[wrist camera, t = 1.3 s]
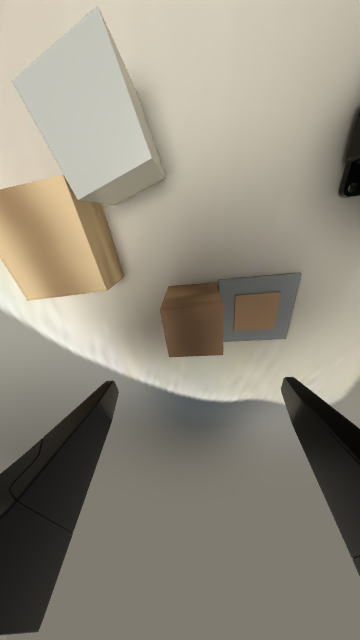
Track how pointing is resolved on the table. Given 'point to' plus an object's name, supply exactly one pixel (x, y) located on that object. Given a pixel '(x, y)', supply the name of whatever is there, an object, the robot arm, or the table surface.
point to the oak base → (55, 241)
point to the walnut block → (193, 320)
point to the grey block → (91, 114)
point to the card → (258, 306)
